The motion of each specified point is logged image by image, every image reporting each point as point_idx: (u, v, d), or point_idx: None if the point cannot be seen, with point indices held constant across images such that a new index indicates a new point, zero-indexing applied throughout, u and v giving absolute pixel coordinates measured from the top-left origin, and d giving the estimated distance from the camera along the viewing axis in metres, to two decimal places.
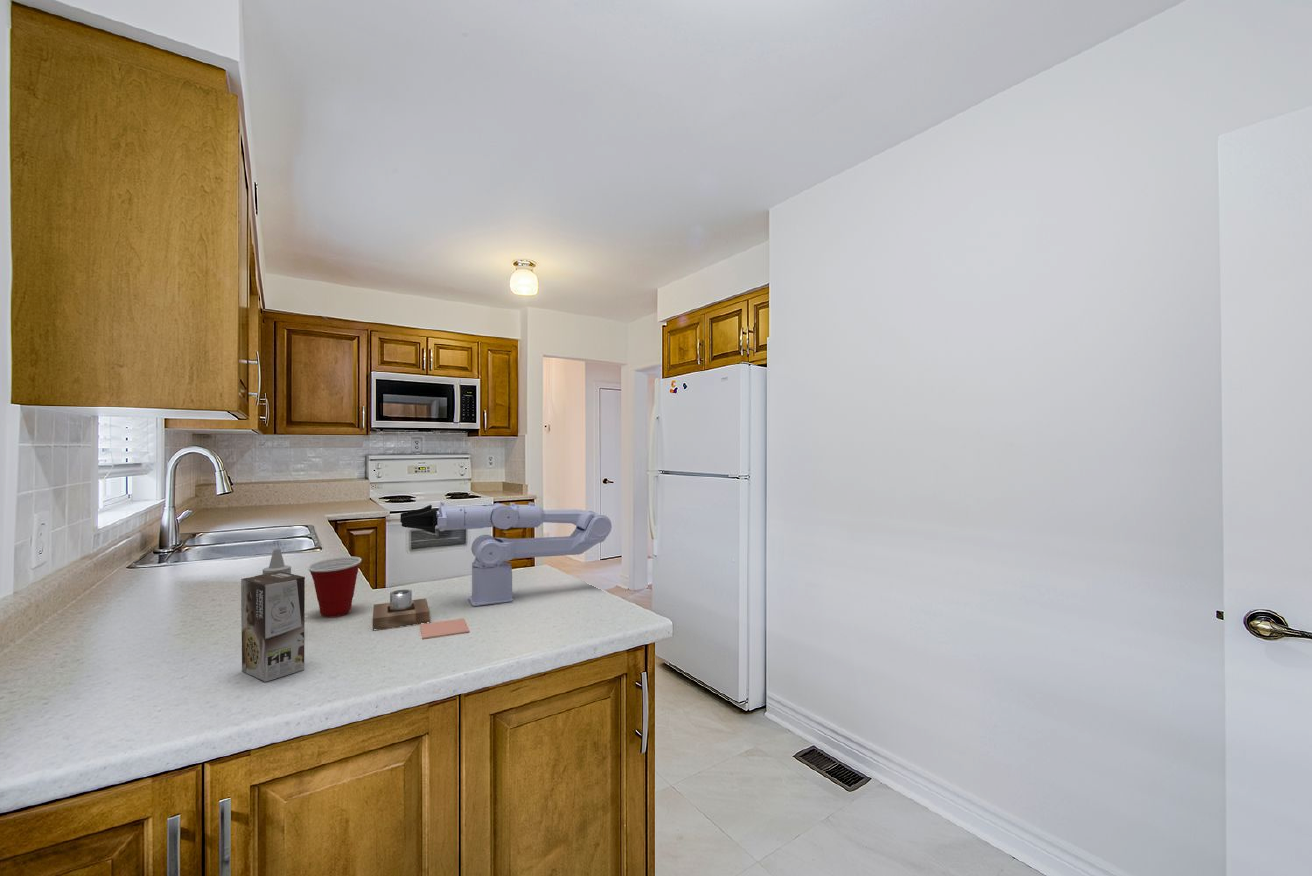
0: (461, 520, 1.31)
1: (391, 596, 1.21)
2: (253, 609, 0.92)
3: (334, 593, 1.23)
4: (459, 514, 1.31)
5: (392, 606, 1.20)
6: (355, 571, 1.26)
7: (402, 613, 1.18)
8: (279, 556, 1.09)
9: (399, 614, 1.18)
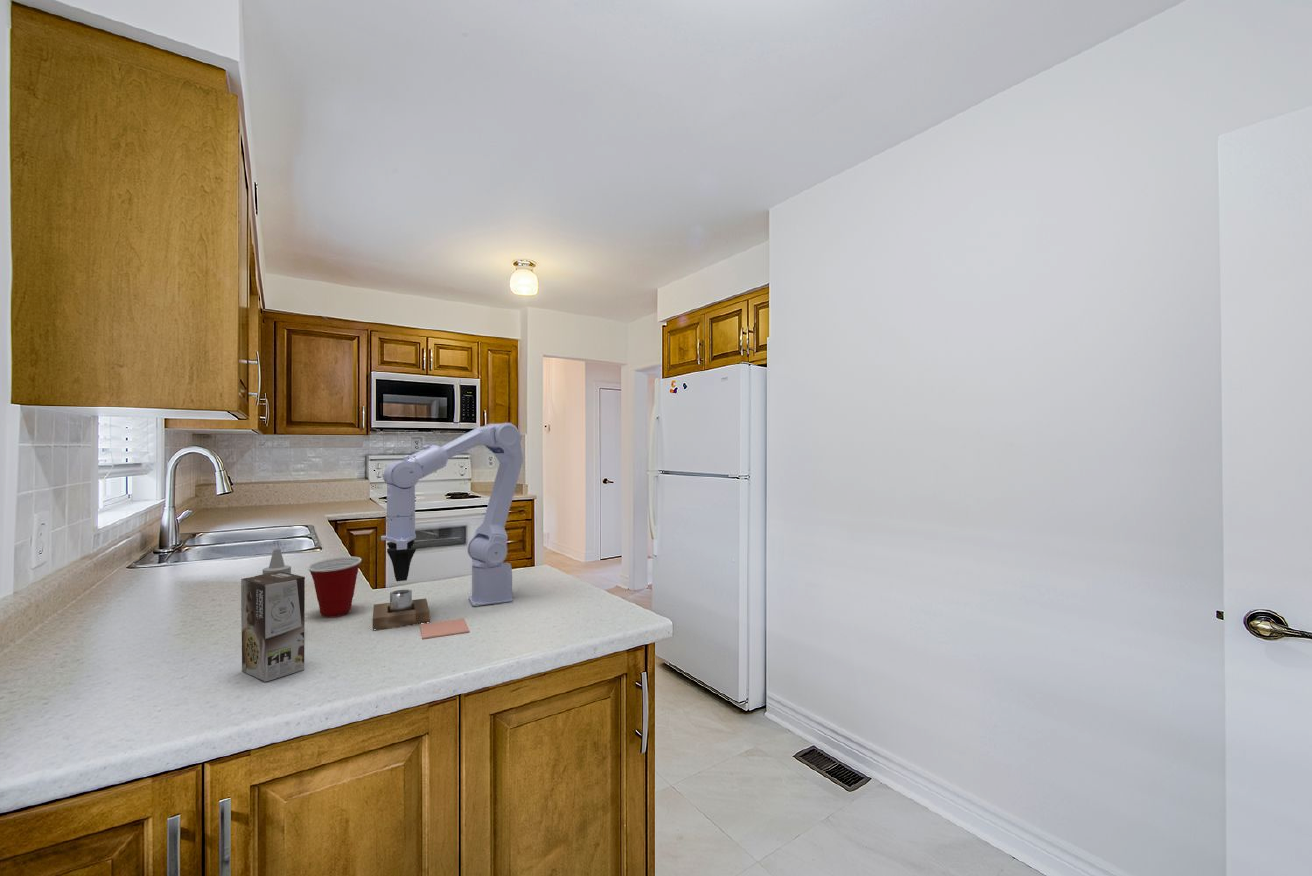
0: (403, 519, 1.20)
1: (391, 596, 1.21)
2: (253, 609, 0.92)
3: (334, 593, 1.23)
4: (396, 522, 1.20)
5: (392, 606, 1.20)
6: (355, 571, 1.26)
7: (402, 613, 1.18)
8: (279, 556, 1.09)
9: (399, 614, 1.18)
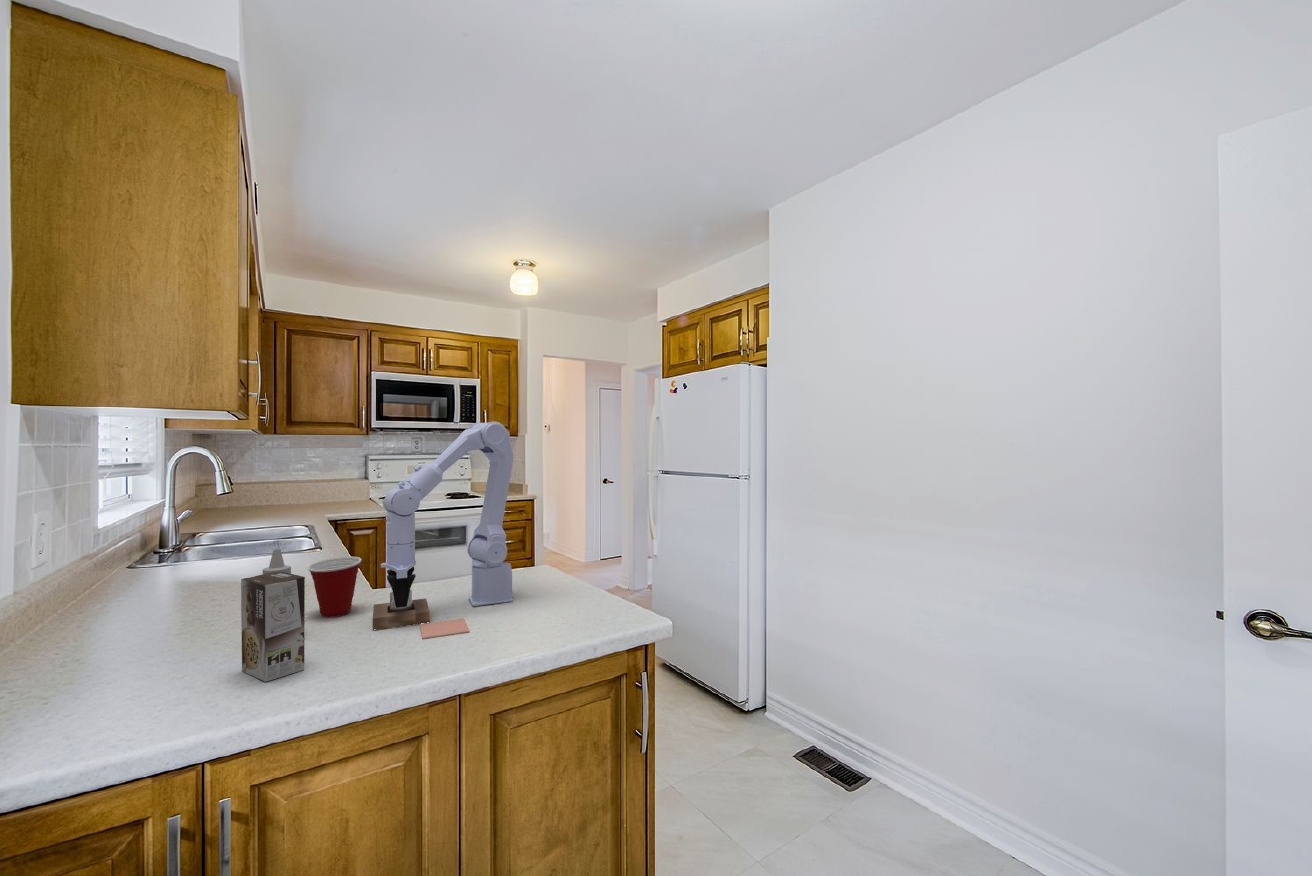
0: (403, 547, 1.20)
1: (391, 596, 1.21)
2: (253, 609, 0.92)
3: (334, 593, 1.23)
4: (396, 549, 1.20)
5: (392, 606, 1.20)
6: (355, 571, 1.26)
7: (402, 613, 1.18)
8: (279, 556, 1.09)
9: (399, 614, 1.18)
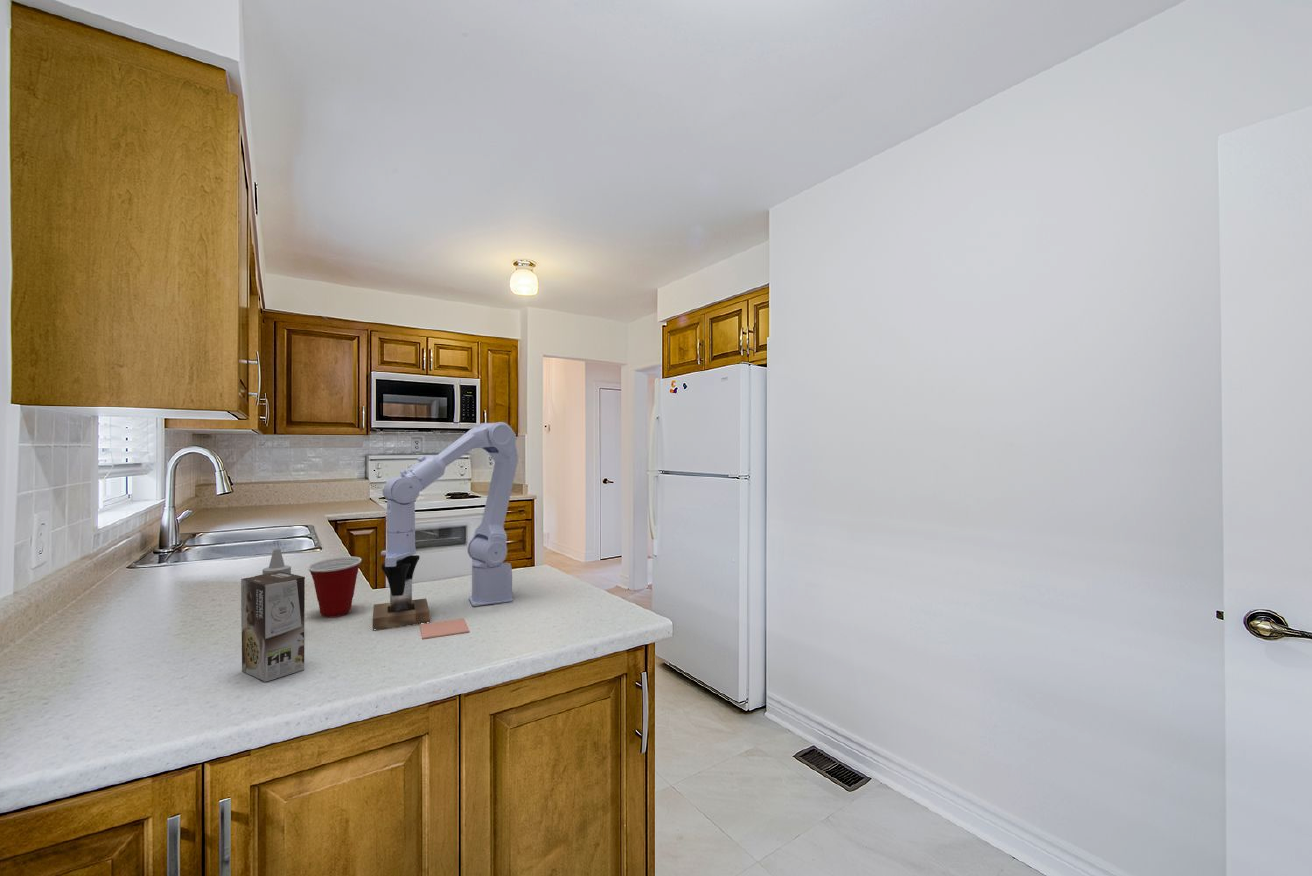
0: (398, 535, 1.20)
1: None
2: (253, 609, 0.92)
3: (334, 593, 1.23)
4: (392, 537, 1.20)
5: (390, 594, 1.21)
6: (355, 571, 1.26)
7: (402, 613, 1.18)
8: (279, 556, 1.09)
9: (399, 614, 1.18)
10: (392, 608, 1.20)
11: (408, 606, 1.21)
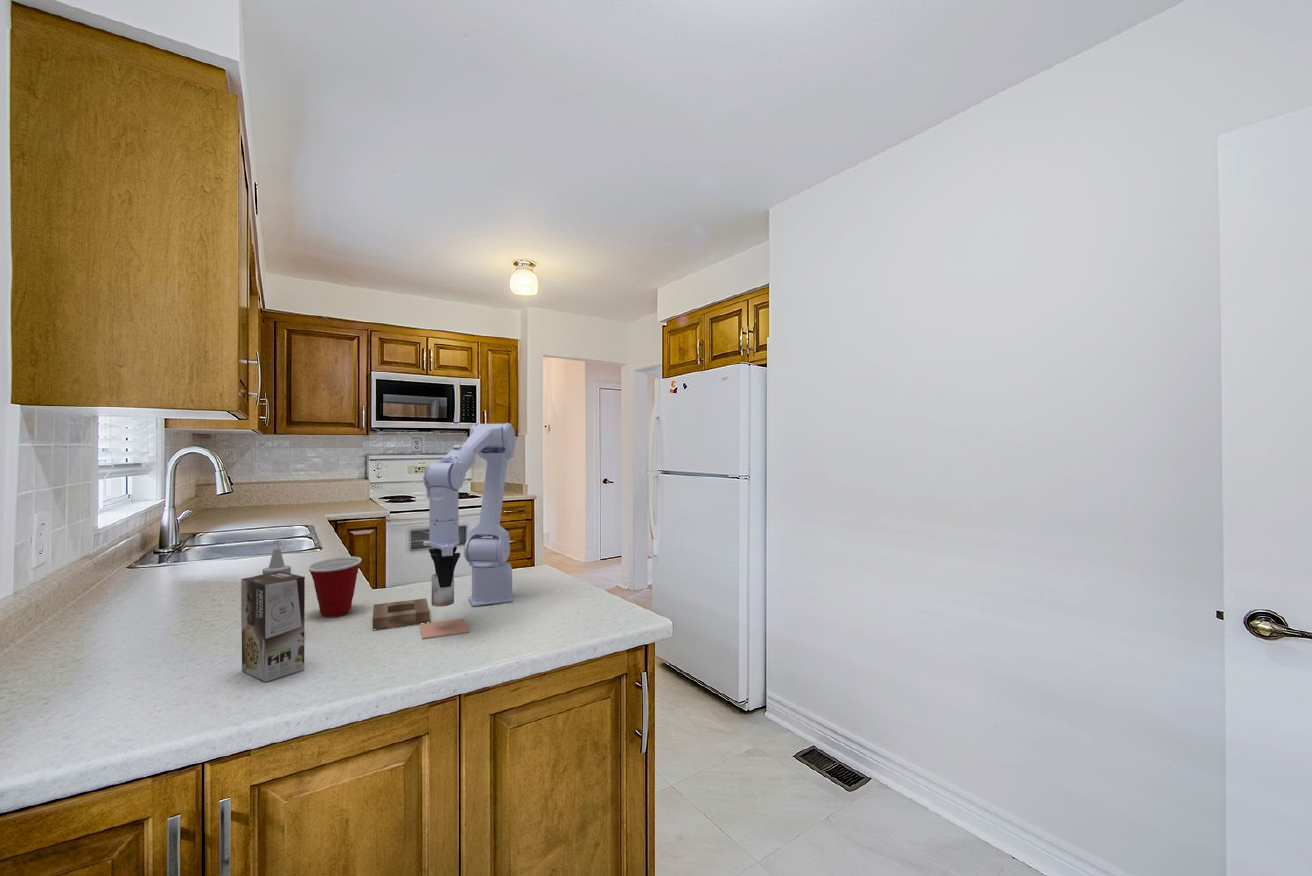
0: (447, 524, 1.14)
1: (432, 578, 1.14)
2: (253, 609, 0.92)
3: (334, 593, 1.23)
4: (440, 526, 1.13)
5: (433, 589, 1.14)
6: (355, 571, 1.26)
7: (402, 613, 1.18)
8: (279, 556, 1.09)
9: (399, 614, 1.18)
10: (435, 604, 1.14)
11: (452, 601, 1.15)
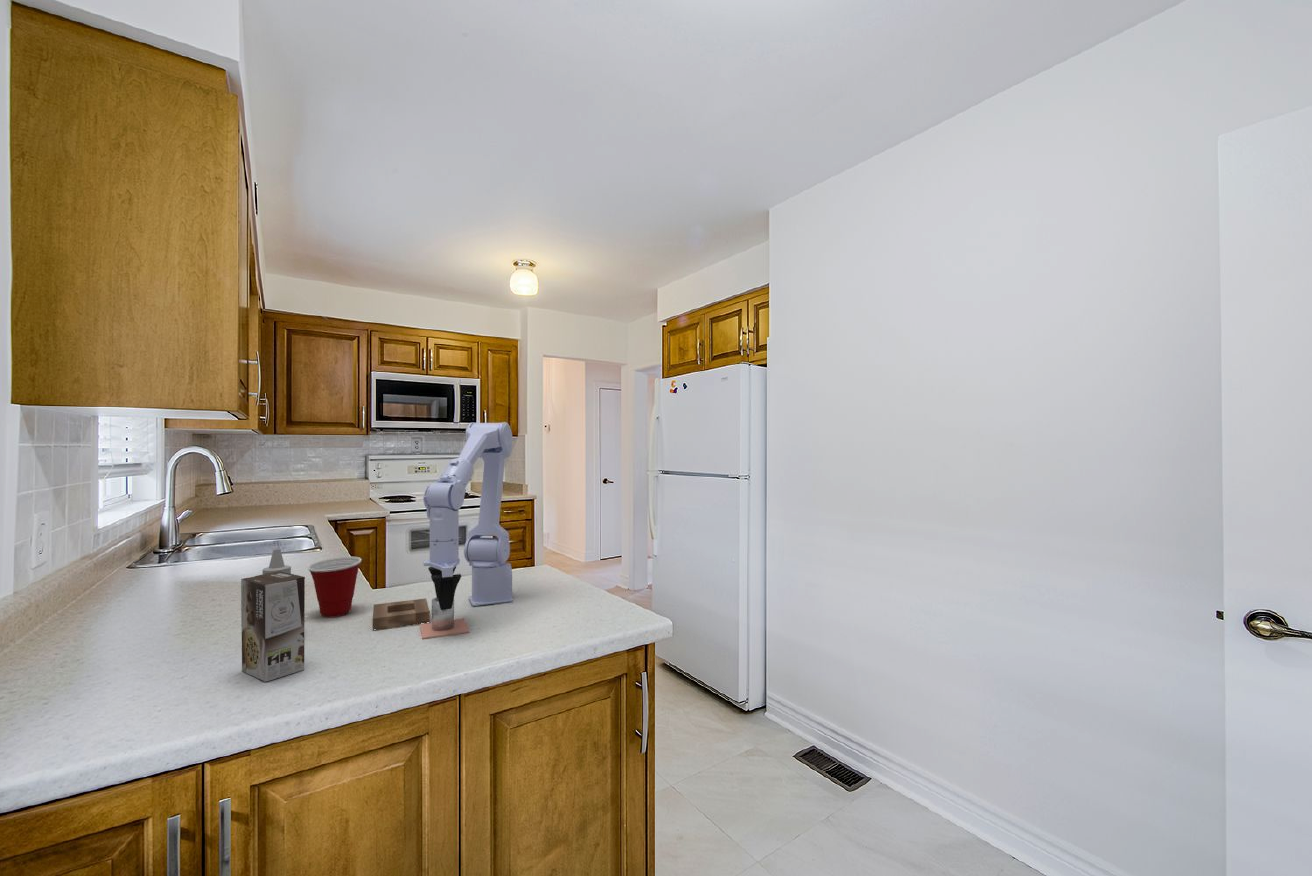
0: (447, 544, 1.14)
1: (432, 603, 1.14)
2: (253, 609, 0.92)
3: (334, 593, 1.23)
4: (440, 547, 1.13)
5: (433, 613, 1.14)
6: (355, 571, 1.26)
7: (402, 613, 1.18)
8: (279, 556, 1.09)
9: (399, 614, 1.18)
10: (436, 629, 1.14)
11: (452, 625, 1.15)
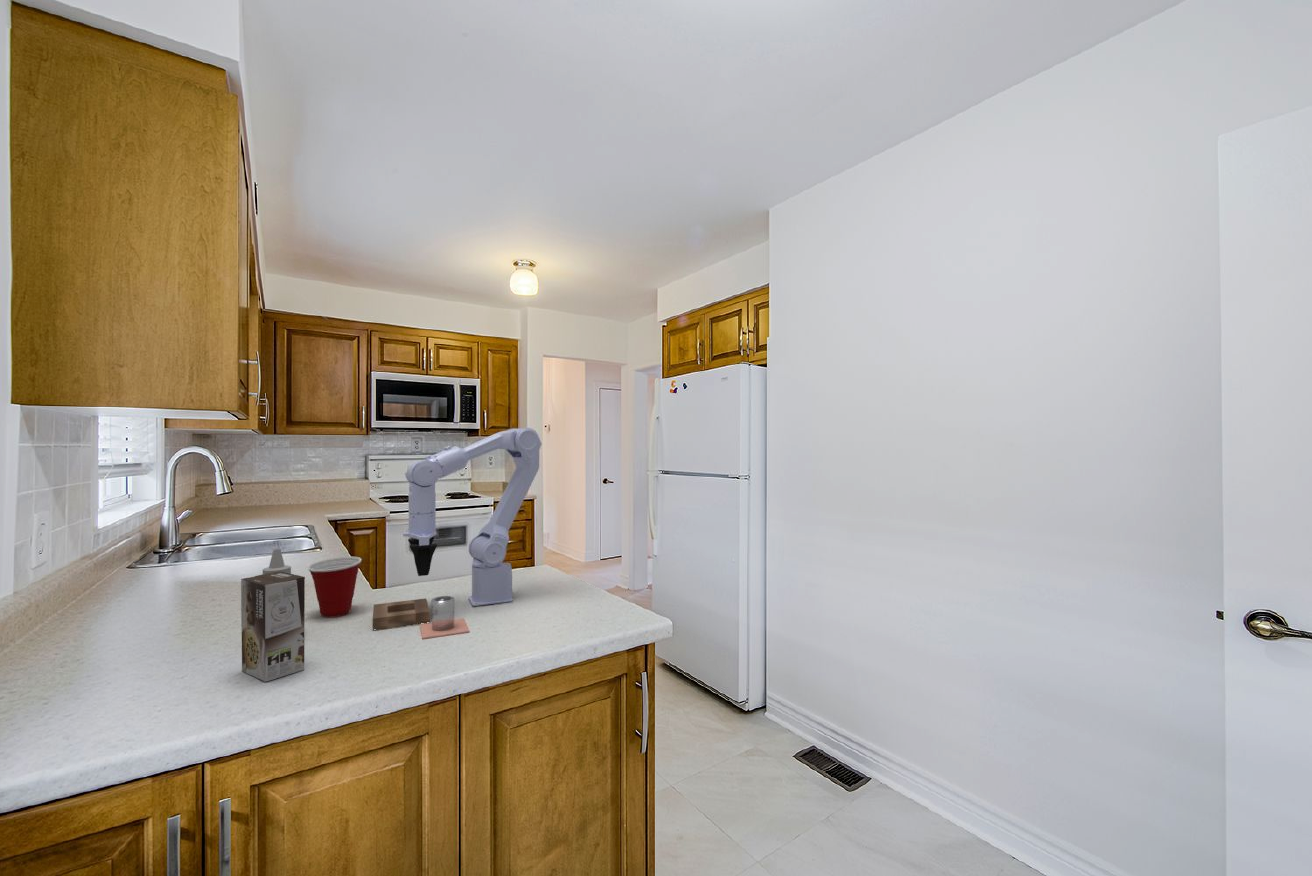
0: (424, 516, 1.25)
1: (432, 603, 1.14)
2: (253, 609, 0.92)
3: (334, 593, 1.23)
4: (418, 518, 1.24)
5: (433, 613, 1.14)
6: (355, 571, 1.26)
7: (402, 613, 1.18)
8: (279, 556, 1.09)
9: (399, 614, 1.18)
10: (436, 629, 1.14)
11: (452, 625, 1.15)
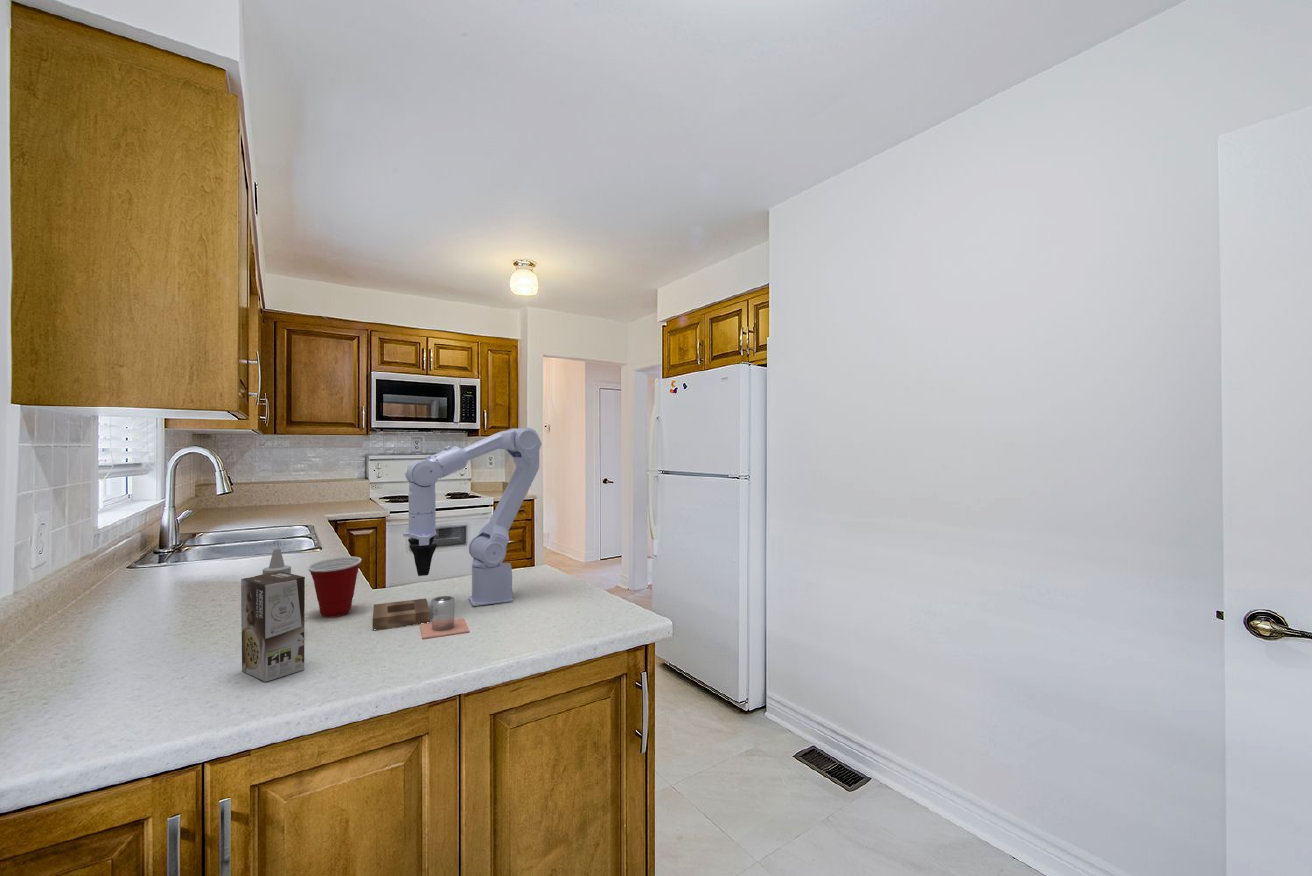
0: (424, 516, 1.25)
1: (432, 603, 1.14)
2: (253, 609, 0.92)
3: (334, 593, 1.23)
4: (418, 518, 1.24)
5: (433, 613, 1.14)
6: (355, 571, 1.26)
7: (402, 613, 1.18)
8: (279, 556, 1.09)
9: (399, 614, 1.18)
10: (436, 629, 1.14)
11: (452, 625, 1.15)
